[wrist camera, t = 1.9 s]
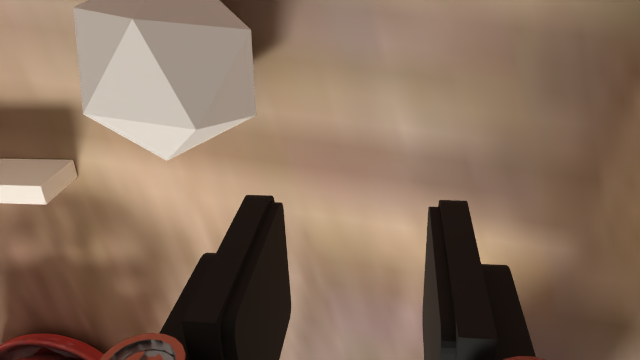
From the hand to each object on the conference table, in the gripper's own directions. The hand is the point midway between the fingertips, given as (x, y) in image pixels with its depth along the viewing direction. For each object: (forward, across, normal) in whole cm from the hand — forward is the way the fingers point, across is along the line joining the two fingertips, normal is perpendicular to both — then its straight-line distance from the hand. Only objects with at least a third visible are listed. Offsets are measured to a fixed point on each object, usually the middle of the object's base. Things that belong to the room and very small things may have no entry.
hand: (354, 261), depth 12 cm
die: (+19, +10, 0) cm, 22 cm away
